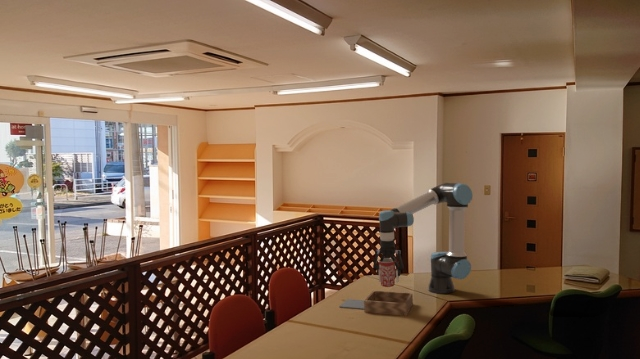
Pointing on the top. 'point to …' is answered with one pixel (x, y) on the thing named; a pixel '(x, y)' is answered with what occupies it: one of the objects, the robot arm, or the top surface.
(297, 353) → the top surface
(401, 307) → the crate
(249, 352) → the top surface
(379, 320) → the top surface
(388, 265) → the mug
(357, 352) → the top surface
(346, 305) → the mat
